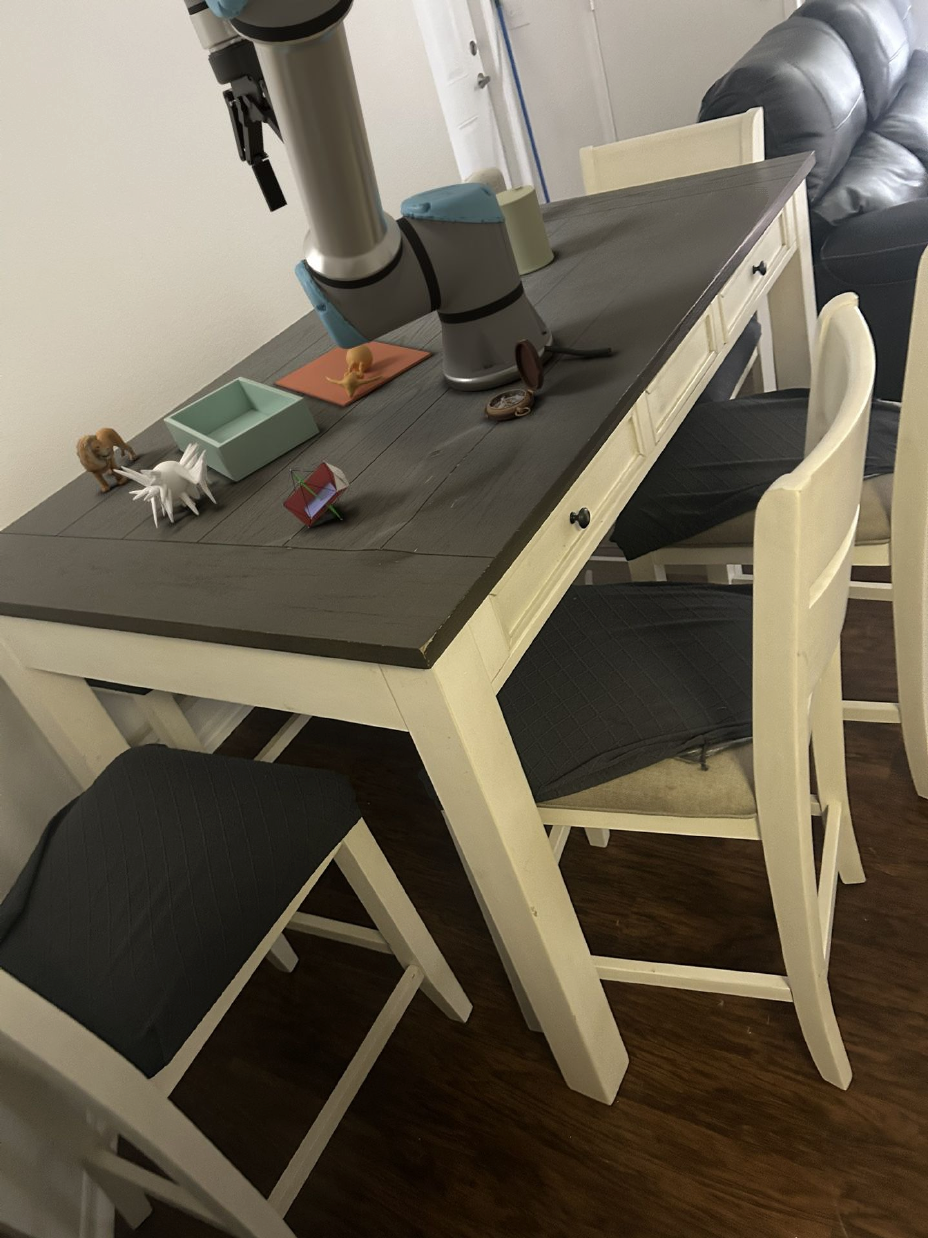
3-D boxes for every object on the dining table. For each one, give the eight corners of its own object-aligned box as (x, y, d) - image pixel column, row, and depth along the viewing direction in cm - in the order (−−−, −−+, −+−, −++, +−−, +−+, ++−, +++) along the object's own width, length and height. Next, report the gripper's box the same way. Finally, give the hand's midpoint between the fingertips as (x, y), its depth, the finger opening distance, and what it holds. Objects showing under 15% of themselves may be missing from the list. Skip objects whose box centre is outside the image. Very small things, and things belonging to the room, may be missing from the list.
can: (563, 250, 157) (544, 177, 150) (538, 273, 152) (517, 198, 145) (517, 257, 163) (497, 187, 156) (492, 279, 157) (470, 207, 150)
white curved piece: (505, 228, 181) (486, 161, 174) (521, 226, 178) (502, 159, 171) (469, 250, 177) (449, 183, 170) (485, 249, 173) (464, 181, 167)
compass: (478, 414, 115) (459, 360, 111) (533, 387, 116) (516, 332, 112) (504, 432, 109) (486, 375, 104) (562, 403, 110) (546, 345, 106)
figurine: (336, 359, 142) (326, 416, 136) (329, 327, 137) (318, 385, 131) (389, 358, 142) (382, 415, 135) (384, 327, 137) (377, 384, 130)
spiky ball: (229, 520, 117) (205, 460, 112) (136, 550, 116) (107, 491, 111) (223, 485, 126) (201, 428, 121) (137, 512, 125) (111, 457, 120)
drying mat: (431, 355, 138) (430, 352, 137) (344, 406, 132) (343, 404, 132) (355, 339, 156) (354, 337, 156) (276, 384, 150) (275, 382, 150)
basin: (319, 432, 128) (303, 397, 125) (236, 482, 123) (218, 447, 120) (255, 407, 145) (240, 376, 142) (180, 450, 140) (163, 419, 137)
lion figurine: (132, 489, 134) (99, 434, 129) (98, 503, 134) (63, 449, 129) (139, 451, 146) (109, 400, 141) (108, 464, 146) (77, 413, 141)
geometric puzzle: (284, 535, 101) (300, 465, 98) (271, 512, 107) (285, 446, 104) (346, 543, 104) (363, 475, 101) (330, 521, 110) (346, 456, 107)
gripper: (297, 16, 113) (363, 194, 125) (220, 46, 132) (283, 198, 144) (246, 37, 110) (318, 217, 122) (174, 65, 129) (242, 218, 141)
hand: (299, 207), depth 133 cm, fingers open, 13 cm apart
